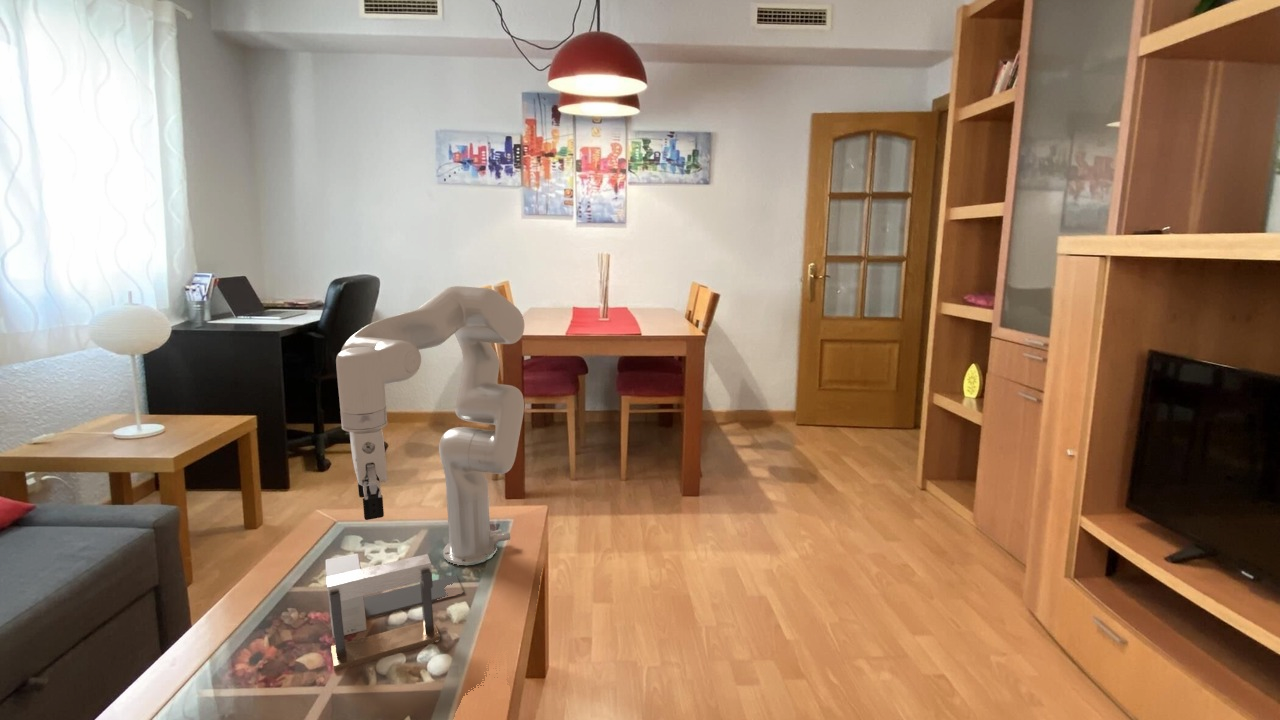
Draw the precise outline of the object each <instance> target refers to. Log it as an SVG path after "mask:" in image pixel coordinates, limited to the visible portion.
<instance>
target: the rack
mask: <svg viewBox="0 0 1280 720" xmlns="http://www.w3.org/2000/svg"><path fill="white" fill-rule="evenodd" d="M422 577H423V581H422V582H419V584H420V585H421V599H422V605H421V612H422V621H420V622H416V623H413V624H408V625H405V626H402V627H397V628H393V629H390V630H386V631H383V632H379V633H375V634H371V635H368V636H364V637H361V638H360V637H359V638H357V639H353V640H349V641H346V639H345V635H344V631H343V622H342V613H341V610H342V609H341V600H340V593H338V594H334V595H330V601H331V613H332V621H333V630H334V638H333V639H334V645H331V646H330V649H331V650H330V651H331V655H332V663H333V665H332V666H333V671H334V672H338V671H341V670H344V669H348V668H352V667H354V666H358V665H361V664H365V663H369V662H372V661H376V660H380V659H383V658H387V657H389V656H394V655H396V654H401V653H404V652H407V651H411V650H414V649H417V648H422V647H425V646H428V644H429V645H431V644H430V643H432V642H435V641H436V640H439V639H440V640H441V636H440V633H439V630H438V627H437V625H436V622H435V619H434V614H433V613H434V612H433V611H434V610H433V602H432V595H431V588H433V584H432V581H433V574H432V573H431V571H430V572H426V573H422ZM432 644H433V643H432Z"/></svg>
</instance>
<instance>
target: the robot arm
mask: <svg viewBox="0 0 1280 720" xmlns="http://www.w3.org/2000/svg"><path fill="white" fill-rule="evenodd" d="M524 331H525V320H524V316H523V314H522V312H521V311H520V309H519V308H518V307H517V306H515V305H514V304H513V303H512V302H511V301H510V300H509V299H508V298H506V297H505V296H503V294H501V293H499V292H498V291H495V290H493V289H491V288H488V287H487V288H486V287H475V286H473V287H472V286H459V285H456V286H449V287H447V288H444V289H442V290H441V291H440V292H438V293H437V294H436V295H434V296H433V297H431V298H429V300H427V301H426V302H425V303H423V304H422V305H420V306H419V307H417V308H416V309H414V310H410V311H406V312H402V313H399V314H396V315H393V316H390V317H386V318H383V319H382V318H381V319H379V320H377V321H374V322H371V323H369V324H367V325H365V326H364V327H361V328H360V329H359V330H358V331H357V332H355V333H354V334H352V335H351V336H350V337H349V338H348V339H347V340H346V341H345V342H344V344H343V345H342V347H341V350H340V352H338V353H337V355H336V359H335V364H336V378H337V388H338V397H339V399H338V400H339V409H340V411H339V413H340V420H341V423H340V424H341V430H343V431H345V432H347V433H349V440H350V450H351V458H352V462H353V469H354V472H355V476H356V479H357V488H358V496H359V498H362V506H363V518H364V520H365V521H368V520H375V519H380V518H383V517H384V516H385V514H384V513H385V512H384V498H383V495H382V490H381V483H382V482H384V483H387V481H388V472H387V471H388V470H387V462H386V451H385V450H386V449H385V442H384V434H383V428H385V427H386V426H387V425H388V415H387V413H388V412H387V401H386V399H387V398H386V385H389V384H393V383H400V382H404V381H408V380H410V379H411V378H412V377H413V376H415V375H416V374H417V373H418V371H419V369H420V367H421V363H422V356H421V352H420V350H421V351H422V350H426V349H433V348H436V347H438V346H441V345H442V344H443V343H445V342H446V341H447V340H448V339H449V338H451V337H452V336H453V335H455V337H456V340H457V341H458V344H459V347H460V350H461V354H462V367H461V371H460V376H459V377H460V378H459V382H458V389H457V392H456V398H455V405H454V412H455V415H456V416H457V417H458V419H461V420H463V421H465V422H471V423H476V424H484V425H485V424H486V425H493V426H495V430H489V429H482V428H476V427H466V426H459V427H453V428H452V427H451V428H450V429H448V430H446V431H445V432H444V433H443V434H442V436H441V438H440V441H439V444H438V452H439V456H440V461H441V465H442V468H443V471H444V472H443V473H444V478H445V479H444V480H445V490H446V508H447V525H448V538H449V539H448V542H447V544H446V545H445V546H444V548H443V551H442V552H443V554H442V555H443V558H444V560H445V559H446V560H447V561H446V560H445V561H446V562H448V563H449V562H450V563H449V564H451V563H453V564H452V565H454V564H457V565H456V566H459V565H463V564H469V563H473V562H477V561H481V560H483V559H485V558H487V557H489V556H490V555H491V554H492V553H494V551H495V550H496V548H497V549H498V543H499V542H505V541H510V540H511V533H510V531H505V532H503V529H501V528H500V529H496V530H492V529H491V522H490V500H489V499H490V497H489V483H488V482H489V481H488V480H487V476H486V474H485V473H488V474H495V475H496V474H497V475H503V474H507V473H508V472H509V471H510V470H511V469H512V468H513V466H514V463H515V461H516V457H517V452H518V447H519V441H520V434H521V430H522V424H523V420H524V419H523V418H524V412H525V401H524V395H523V393H522V391H521V390H520V389H519V388H518V387H516V386H515V385H510V384H502V383H498V378H499V373H500V360H499V356H498V354H497V353H496V351H495V349H494V347H493V346H492V345H491V344H501V345H512V344H515V343H517V342H518V341H520V339H522V337H523V335H524ZM487 554H489V556H485V555H487ZM463 561H464V562H463Z"/></svg>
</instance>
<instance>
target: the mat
mask: <svg viewBox="0 0 1280 720" xmlns="http://www.w3.org/2000/svg"><path fill="white" fill-rule="evenodd" d="M456 577H458V575H457V574H454V575H451V576H446V577H443V578H439V579H434V580H432V584H433V588H431V595H432V603H434V602H433V601H435V600H437V599H440V598H442V597H445V596H446V595H447V594H448V593H447V594H446V592H445V591H446V590H445V589H444V588H445V587H446V586H447V585H450V584H451V585H452V584H453V583H454V582H456ZM452 582H453V583H452ZM447 596H448V595H447ZM435 602H436V601H435ZM364 606H365V616H366V620H369V619H372V618H373V619H374V618H377V617H379V616H384V615H388V614H391V613H396V612H400V611H404V610H407V609H411V608H415V607H419V606H422V599H421V585H420V583H417V584H415V585H411V586H410V585H409V586H407V587H405V586H404V587H402V588H401V587H400V588H397V589H394V590H389V591H387V592H386V591H384V592H382V593H381V592H380V593H378V594H377V593H376V594H373V595H370V596H366V597H365V596H364Z"/></svg>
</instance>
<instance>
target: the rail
mask: <svg viewBox="0 0 1280 720" xmlns="http://www.w3.org/2000/svg"><path fill="white" fill-rule="evenodd" d="M430 571H431V573H432V562H431V559H430V557H429V555H428V553H426V554H421V555H417V556H412V557H408V558H403V559H399V560H395V561H389V562H386V563H382V564H378V565H377V564H376V565H374V566H369V567H364V568H361V569H359V570H354V571H350V572H346V573H341V574H337V575H332V576H328V577H325V578H326V579H325V581H326V588H327V589H326V590H327V596H328V604H331V601H330V595H334V594H338V593H340V600H341V601H344V600H348V599H352V598H357V597H361V596H364V597H365V596H368V595H372V594H373V595H374V594H377V593H381V592H386V591H388V590H389V591H390V590H392V589H396V588H397V589H398V588H401V587H402V588H403V587H405V586H410V585H413V584H419V583H420V582H422V581H423V577H422V573H426V572H430Z"/></svg>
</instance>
